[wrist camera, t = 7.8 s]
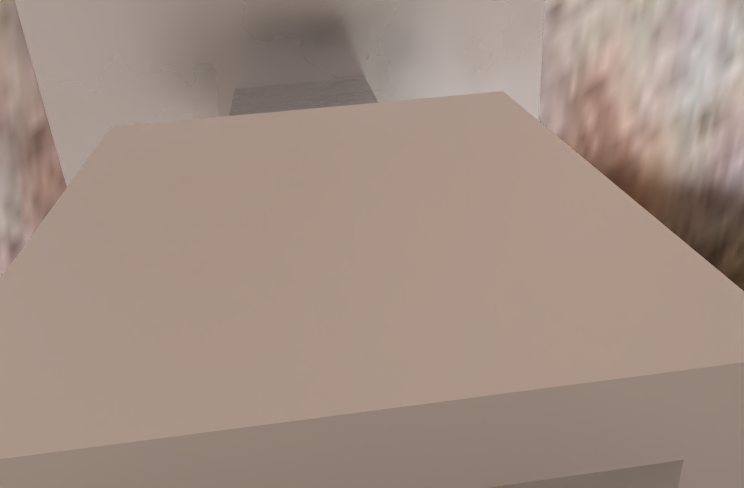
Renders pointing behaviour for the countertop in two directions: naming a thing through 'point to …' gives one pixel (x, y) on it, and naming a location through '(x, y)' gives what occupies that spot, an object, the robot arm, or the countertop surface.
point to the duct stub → (266, 58)
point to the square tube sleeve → (363, 313)
